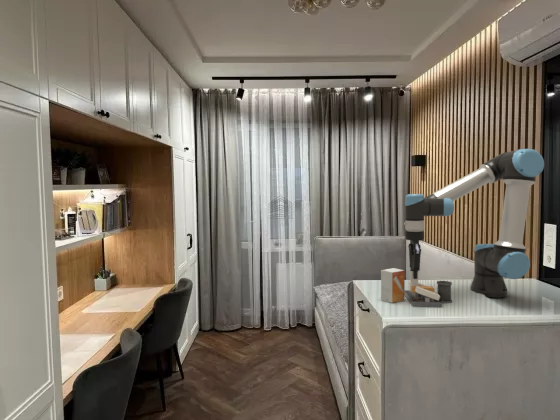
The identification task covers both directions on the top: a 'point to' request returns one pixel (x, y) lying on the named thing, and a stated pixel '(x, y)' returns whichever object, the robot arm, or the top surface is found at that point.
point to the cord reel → (444, 291)
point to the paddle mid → (430, 288)
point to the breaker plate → (421, 300)
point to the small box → (392, 285)
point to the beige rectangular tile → (427, 293)
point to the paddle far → (418, 284)
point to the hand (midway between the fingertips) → (414, 285)
